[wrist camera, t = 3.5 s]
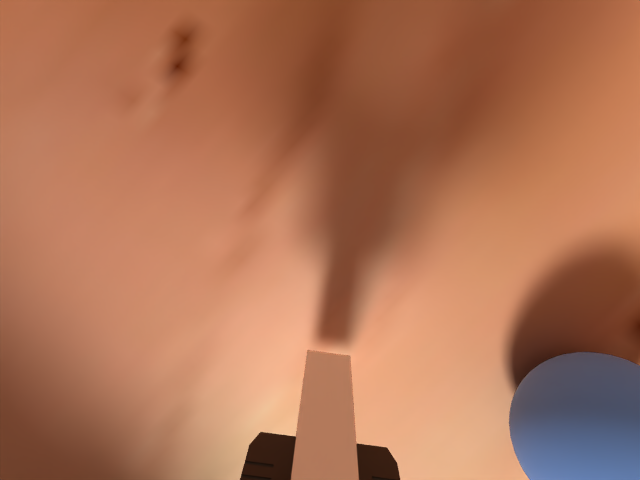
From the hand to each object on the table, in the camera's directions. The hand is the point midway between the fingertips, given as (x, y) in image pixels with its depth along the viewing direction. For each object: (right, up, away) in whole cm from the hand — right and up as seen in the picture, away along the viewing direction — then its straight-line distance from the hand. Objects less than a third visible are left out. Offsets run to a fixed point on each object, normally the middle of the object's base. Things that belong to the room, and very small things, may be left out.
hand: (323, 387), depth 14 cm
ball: (+9, -1, -1) cm, 9 cm away
